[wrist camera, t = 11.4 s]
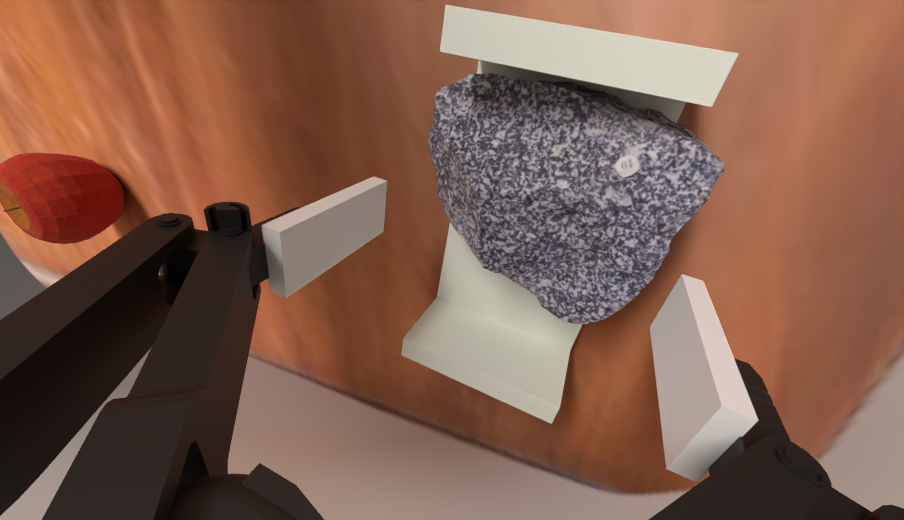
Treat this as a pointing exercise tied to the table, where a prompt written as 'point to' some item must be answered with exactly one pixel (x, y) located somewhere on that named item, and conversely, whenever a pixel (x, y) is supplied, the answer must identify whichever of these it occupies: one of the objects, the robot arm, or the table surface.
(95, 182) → the apple
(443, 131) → the rock
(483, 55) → the u rest
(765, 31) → the table surface
